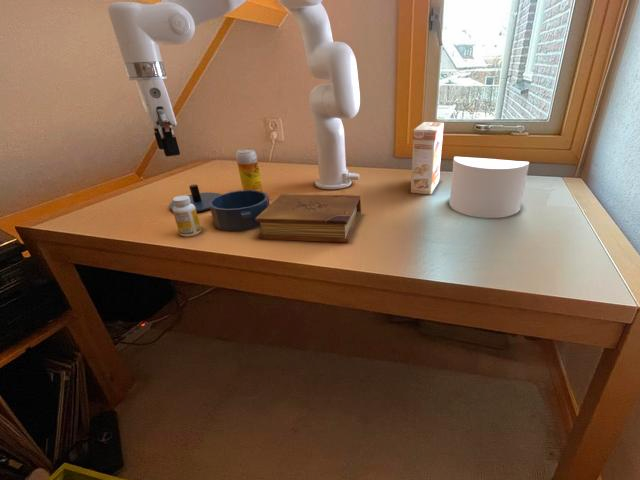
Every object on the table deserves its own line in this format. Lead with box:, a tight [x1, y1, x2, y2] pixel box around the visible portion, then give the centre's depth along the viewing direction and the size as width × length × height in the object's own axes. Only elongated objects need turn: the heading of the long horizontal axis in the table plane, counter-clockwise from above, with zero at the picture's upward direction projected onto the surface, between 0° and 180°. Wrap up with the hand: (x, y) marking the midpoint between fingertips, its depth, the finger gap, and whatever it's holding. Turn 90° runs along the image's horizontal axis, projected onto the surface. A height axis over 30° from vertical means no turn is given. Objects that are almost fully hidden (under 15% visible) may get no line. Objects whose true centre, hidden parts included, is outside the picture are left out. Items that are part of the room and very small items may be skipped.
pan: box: [209, 189, 271, 232], centre depth 103 cm, size 16×21×6 cm
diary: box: [255, 193, 362, 243], centre depth 98 cm, size 23×19×6 cm
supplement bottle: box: [172, 194, 202, 238], centre depth 95 cm, size 5×5×10 cm
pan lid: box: [168, 183, 223, 212], centre depth 114 cm, size 16×16×6 cm
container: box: [448, 155, 530, 219], centre depth 105 cm, size 20×20×13 cm
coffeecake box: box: [410, 121, 445, 195], centre depth 119 cm, size 15×7×20 cm, turn 160°
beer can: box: [235, 148, 264, 192], centre depth 116 cm, size 6×6×15 cm
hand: (169, 151), depth 90 cm, fingers open, 9 cm apart
